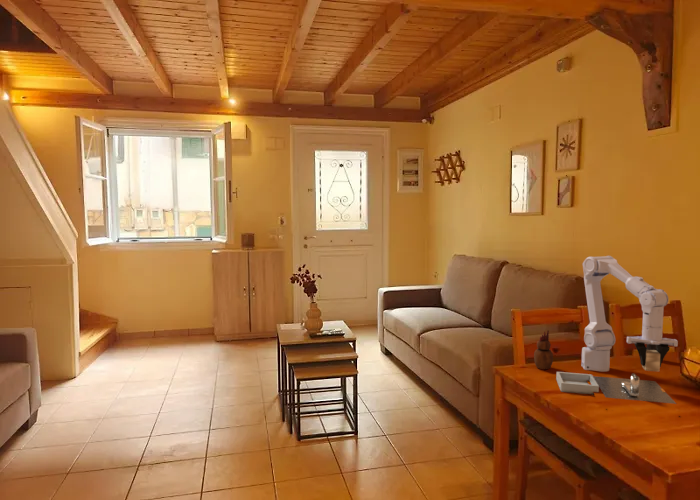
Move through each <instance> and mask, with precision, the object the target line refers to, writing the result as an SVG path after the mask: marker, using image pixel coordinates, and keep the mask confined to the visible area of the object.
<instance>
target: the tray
mask: <svg viewBox="0 0 700 500" xmlns="http://www.w3.org/2000/svg"><path fill="white" fill-rule="evenodd" d="M593 376H594V375H593V374H590V373H589V374H588V373H578V372H577V373H576V372H567V371H566V372H564V371H556V376H555V377H556V378H555V380H556V382H557V385H558V388H559V391H560V392H563V393H571V394H573V393H574V394H583V395H585V394H586V395H595V393H599V392H600V387H599V386H598V384H597V382H596V381H595V379H594V378H593ZM588 381H589V382H590V384H589V383H588Z"/></svg>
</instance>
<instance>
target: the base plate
mask: <svg viewBox="0 0 700 500" xmlns="http://www.w3.org/2000/svg"><path fill="white" fill-rule="evenodd" d="M592 376H593V378H594V379H595V381H596V382H597V384H598V386H599V390H601V392H602V394H603V395H604V397H605V398H609V399H610V398H611V399H619V400H620V399H621V400H629V401H641V402H652V403H653V402H654V403H664V404H675V405H677V403H676V402H675V400H674V399H673V398H672V397H671V396H670V395H669V394H668V393H667V392H666V391H665V389H664V388H662V387H661V386H660V385H659V384H658V383H657V381H655V380H645V379H639V396H631V395H630V394H629V393H628V392H627V390H626V389H625V388H624V387H622V386H621V382H630V381H631V378H630V379H629V378H622V377H621V378H619V377H606V376H595V375H592Z"/></svg>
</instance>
